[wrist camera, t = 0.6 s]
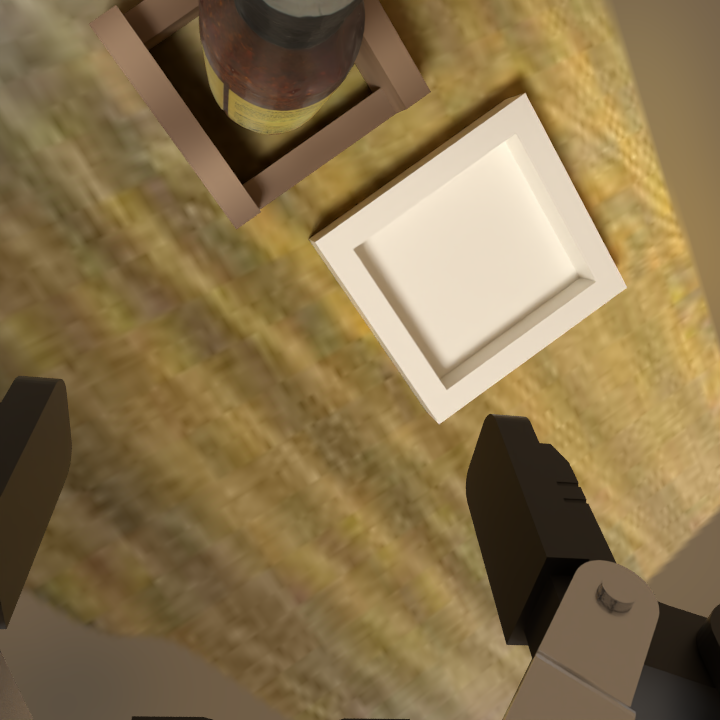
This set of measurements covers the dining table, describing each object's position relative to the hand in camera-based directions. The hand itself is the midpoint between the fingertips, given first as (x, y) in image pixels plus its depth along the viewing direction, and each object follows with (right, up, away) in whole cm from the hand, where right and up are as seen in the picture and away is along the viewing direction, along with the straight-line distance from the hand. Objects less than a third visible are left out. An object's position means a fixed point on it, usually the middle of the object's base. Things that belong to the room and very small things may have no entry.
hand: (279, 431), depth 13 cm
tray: (+8, +7, +28) cm, 30 cm away
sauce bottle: (-4, +17, +23) cm, 29 cm away
